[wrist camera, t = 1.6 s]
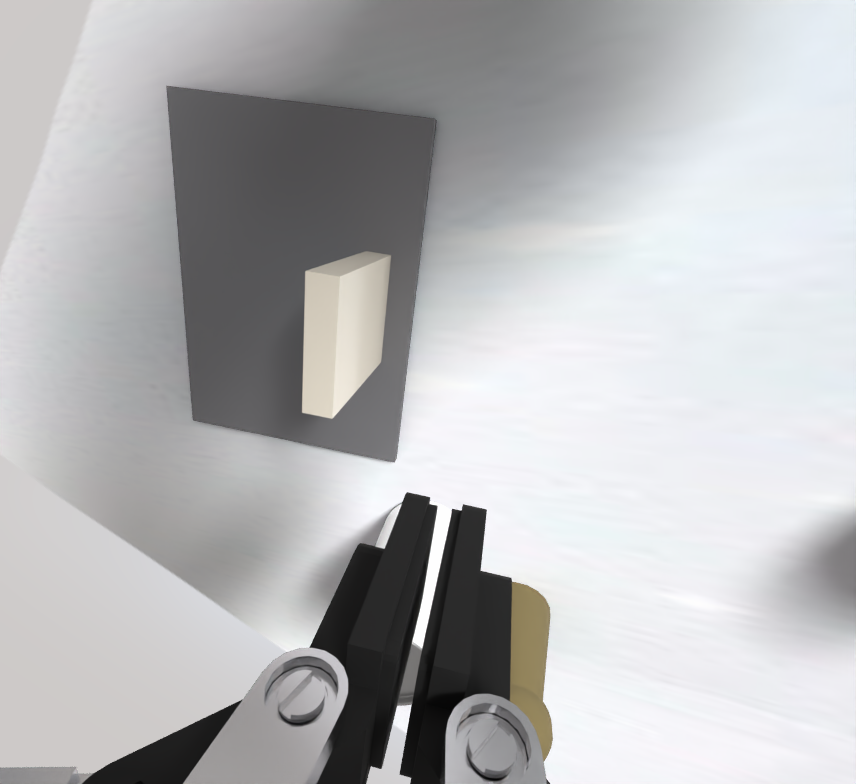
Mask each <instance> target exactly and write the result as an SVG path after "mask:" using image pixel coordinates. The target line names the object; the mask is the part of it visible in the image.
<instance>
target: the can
mask: <svg viewBox="0 0 856 784" xmlns="http://www.w3.org/2000/svg"><path fill="white" fill-rule="evenodd" d="M430 504H432V505H437V506H438V509H437V515H436V521H435V527H434V533H433V539H432V545H431V551H430V557H429V563H428V569H427V575H426V581H425V587H424V593H423V599H422V603H421V608H420V612H419V616H418V621H417V625H416V629H415V633H414V637H413V641H412V645H411V650H410V654H409V658H408V662H407V666H406V670H405V674H404V679H403V683H402V687H401V691H400V695H399V699H398V703H397V705H411V704H412V701H413V695H414V690H415V684H416V678H417V673H418V667H419V662H420V657H421V652H422V647H423V643H424V638H425V633H426V629H427V624H428V619H429V615H430V610H431V606H432V601H433V596H434V592H435V587H436V582H437V578H438V573H439V568H440V564H441V559H442V555H443V550H444V545H445V541H446V536H447V531H448V527H449V522H450V518H451V513H452V511H451V510H449V509H448V508H446V507H445V506H443V505H441V504H439V503H436V502H433V501H430ZM401 505H402V504H400V505H398V506H397V507H396V508H394V509H393V510H392V511H391V513H390V514H389V516H388V517H387V519H386V522H385V524H384V526H383V528H382V531H381V533H380V535H379V538H378V540H377V542H376V545H375V547H379V548H384V549H385V546H386V544H387V541H388V539H389V536H390V533H391V531H392V528H393V526H394V523H395V520H396V518H397V515H398V513H399V510H400V507H401Z"/></svg>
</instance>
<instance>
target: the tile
mask: <svg viewBox="0 0 856 784" xmlns="http://www.w3.org/2000/svg"><path fill="white" fill-rule="evenodd" d="M390 262H391V255H387V254H381V253H375V252H368V251H365V252H362V253H359V254H356V255H353V256H350V257H347V258H343V259H340V260H337V261H334V262H331V263H328V264H325V265H322V266H319V267H316V268H313V269H310V270H307V271H305V308H304V350H303V391H302V413H306V414H311V415H316V416H321V417H326V418H331V419H333V418H334V416H335V415H336V414H337V413H338V412H339V411H340V409H341V408H342V407H343V406H344V405H345V404H346V402H347V401H348V400H349V399H350V398H351V397H352V395H353V394H354V393H355V392H356V391H357V390H358V388H359V387H360V386H361V385H362V384H363V383H364V381H365V380H366V379H367V378H368V377H369V376H370V374H371V373H372V372H373V371H374V370H375V369H376V367H377V366H378V365H379V364H380V363H381V358H382V347H383V337H384V326H385V315H386V305H387V294H388V284H389V273H390Z"/></svg>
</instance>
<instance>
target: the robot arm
mask: <svg viewBox="0 0 856 784" xmlns="http://www.w3.org/2000/svg"><path fill="white" fill-rule="evenodd" d="M437 509H438V506H437V505H432V504H430V497H426V496H422V495H417V494H412V493H408V492H407V493H406V495H405V497H404V500H403V502H402V505H401V507H400V510H399V513H398V515H397V518H396V520H395V523H394V526H393V528H392V531H391V533H390V536H389V539H388V541H387V544H386V546H385V549H384V548H379V547H375V546H371V545H366V544H362V543H360V544H359V545H358V546H357V548H356V550H355V552H354V554H353V556H352V558H351V560H350V563H349V565H348V567H347V569H346V571H345V573H344V575H343V578H342V580H341V582H340V584H339V586H338V588H337V590H336V592H335V595H334V597H333V599H332V601H331V603H330V605H329V607H328V609H327V612H326V614H325V616H324V618H323V620H322V622H321V624H320V627H319V629H318V631H317V633H316V635H315V637H314V639H313V641H312V644H311V646H310V648H299V649H296V650H293V651H289V652H286V653H284V654H283V655H281V656H280V657H278V658H277V659H275V660H273V661H272V662H271V663H270V664H269V665H268V666H267V668H266V669H265V670H264V671H263V672H262V673H261V675H260V676H259V678H258V679H257V680H256V682H255V683H254V685H253V686H252V687H251V689H250V690H249V692H248V693H247V694H246V696H245V697H244V699H243V700H241V701H239V702H237V703H235V704H233V705H231V706H228V707H226V708H224V709H222V710H220V711H218V712H216V713H214V714H212V715H210V716H208V717H206V718H203V719H201V720H200V721H197V722H195V723H193V724H191V725H189V726H187V727H185V728H183V729H181V730H179V731H177V732H174V733H172V734H170V735H168V736H166V737H164V738H162V739H160V740H158V741H156V742H154V743H152V744H150V745H148V746H145V747H143V748H142V749H139V750H137V751H135V752H133V753H131V754H129V755H127V756H125V757H123V758H121V759H119V760H117V761H115V762H112V763H110V764H108V765H107V766H105V767H104V768H102V769H101V770H99V771H97V772H95V773H93V774H78V772H77V768H76V767H30V768H29V767H27V768H25V767H24V768H0V784H366V782H367V778H368V774H369V770H370V767H371V766H372V767H376V768H379V769H381V768H382V765H383V761H384V757H385V753H386V749H387V745H388V741H389V736H390V732H391V728H392V724H393V720H394V716H395V712H396V707H397V703H398V699H399V695H400V691H401V687H402V683H403V679H404V674H405V670H406V666H407V662H408V658H409V654H410V650H411V645H412V641H413V637H414V633H415V629H416V625H417V621H418V616H419V612H420V608H421V603H422V599H423V593H424V587H425V581H426V575H427V569H428V563H429V557H430V551H431V545H432V539H433V533H434V527H435V521H436V515H437ZM486 512H487V510H486V509H482V508H477V507H472V506H468V505H463V507H462V511H460V510H455V509H452V513H451V518H450V522H449V527H448V531H447V536H446V541H445V545H444V550H443V555H442V559H441V564H440V568H439V573H438V578H437V582H436V587H435V592H434V596H433V601H432V606H431V610H430V615H429V619H428V624H427V629H426V633H425V638H424V643H423V647H422V652H421V657H420V662H419V667H418V673H417V678H416V684H415V690H414V695H413V701H412V707H411V712H410V718H409V724H408V729H407V735H406V741H405V747H404V753H403V758H402V764H401V770H400V775H404V776H407V777H410V778H411V783H410V784H550V783H549V782H548V780H547V779H546V774H545V768H544V762H543V756H542V750H541V745H540V742H539V739H538V735H537V732H536V730H535V728H534V727H533V725H532V723H531V722H530V720H529V718H528V717H527V716H526V715H525V714H524V713H523V712H522V711H521V710H520V709H519V708H518V707H517V706H516V705H515V704H513V703H511V702H510V674H511V617H512V580H511V578H509V577H505V576H500V575H496V574H492V573H487V572H483V571H480V570H481V560H482V551H483V541H484V531H485V522H486Z"/></svg>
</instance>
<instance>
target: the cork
mask: <svg viewBox="0 0 856 784" xmlns="http://www.w3.org/2000/svg"><path fill="white" fill-rule="evenodd" d="M549 625H550V607H549V605H548V603H547V601H546V599H545V598H544V597H543V596H542V595H541V594H540V593H539V592H538V591H536V590H534V589H533V588H531V587H529V586H527V585H524V584H520V583H516V582H512V617H511V674H510V702H511V703H513V704H515V705H516V706H517V707H518V708H519V709H520V710H521V711H522V712H523V713H524V714H525V715H526V716H527V717H528V718H529V720H530V722H531V723H532V725H533V727H534V728H535V730H536V732H537V735H538V739H539V742H540V745H541V750H542V756H543V762H544V761H545V759H546V757H547V756H548V754H549V751H550V749H551V745H552V740H553V736H552V724H551V718H550V715H549V712H548V710H547V708H546V706H545V704H544V702H543V691H544V680H545V669H546V658H547V647H548V636H549Z"/></svg>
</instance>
